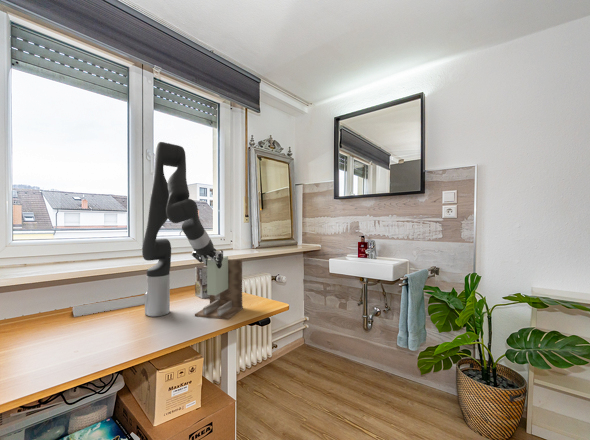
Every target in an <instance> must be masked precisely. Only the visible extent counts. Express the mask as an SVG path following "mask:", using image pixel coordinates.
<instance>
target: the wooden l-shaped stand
mask: <svg viewBox="0 0 590 440" xmlns="http://www.w3.org/2000/svg"><path fill="white" fill-rule="evenodd" d="M243 308H244V306H243V259H235V258H233V259H229V258H228V289H227V290H225V291H223V292H221V293H219V294H217V295H210V297H209V304H207V305H205V306H204V307H203V308H202V309H201V310H199V311H197V312H195V313H194V317H197V318H198V317H200V318H209V319H222V320H223V319H225V320H229V319H231V318H232V317H233V316H235V315H236V314H237V313H239V312H240V311H241V310H242V309H243Z"/></svg>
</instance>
